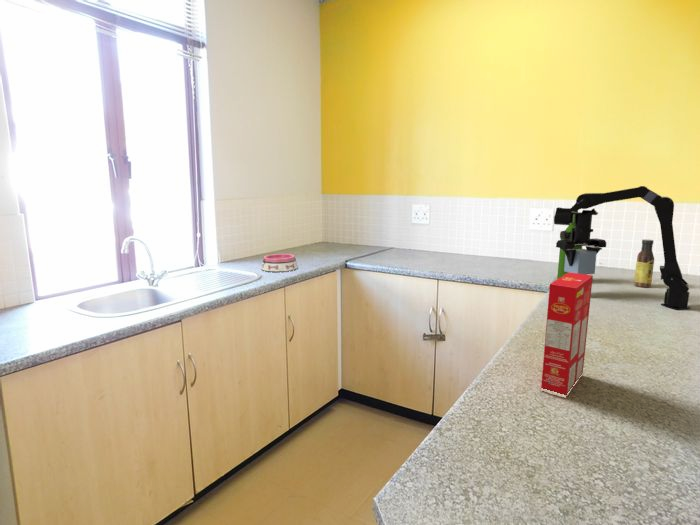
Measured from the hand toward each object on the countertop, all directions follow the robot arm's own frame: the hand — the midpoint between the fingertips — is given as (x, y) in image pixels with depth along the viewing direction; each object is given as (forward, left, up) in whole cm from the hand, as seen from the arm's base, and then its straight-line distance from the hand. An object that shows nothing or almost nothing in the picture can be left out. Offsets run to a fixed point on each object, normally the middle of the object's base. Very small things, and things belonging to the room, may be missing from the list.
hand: (579, 265), depth 181 cm
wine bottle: (+20, -12, -12) cm, 26 cm away
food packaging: (-66, +58, -12) cm, 89 cm away
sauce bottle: (+4, -36, -12) cm, 38 cm away
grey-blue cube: (0, 0, -3) cm, 3 cm away
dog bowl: (+80, +111, -12) cm, 137 cm away
